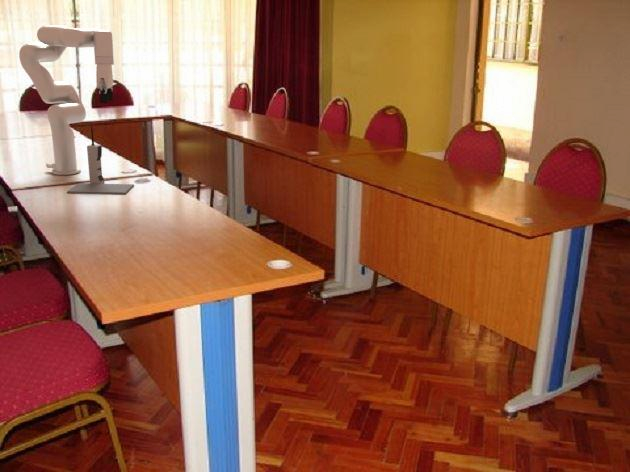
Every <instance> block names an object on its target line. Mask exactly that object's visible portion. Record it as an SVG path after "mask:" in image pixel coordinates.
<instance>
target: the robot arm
mask: <svg viewBox="0 0 630 472" xmlns="http://www.w3.org/2000/svg"><path fill="white" fill-rule="evenodd" d="M36 38H37V40H38V41H39V42H30V43H29V42H28V43H26V44H24V45H22V46H21V47H20V49H19V54H18V55H19V57H18V58H19V62H20V64H21V66H22V69H23V70H24V71H25V73H26V75H27V76H28V77H29V78H30V80H31V81H32V83H33V86H34V87H35V89H36V91H37V93H38V94H39V96H40V98H41V100H42V101H43V102H44V103H45V104H47V105H48V104H52V105H51V106H50V107H49V108H47V112H46V113H47V114H46V115H47V120H48V123H49V125H50V130H51V131H50V132H51V139H52V140H51V141H52V149H53V159H54V160H53V161H54V162H53V163H51V162H46V164H45V166H46V168H48V169H51V173H52V174H53V175H57V176H58V175H59V176H70V175H75V174H76V175H77V174H79V173H81V172H82V171H81V168H80V167H77V154H76V144H75V143H76V142H75V141H76V140H75V134H74V130H73V129H72V128H71V126H70V125H71V124H76V123H81V122H83V121H85V119H86V116H87V112H86V109H85V108H86V107H85V106H84V104H83V101H82V100H81V98H80V97H79V95H78V92H77V90H76V89H75V88H74V86H73V84H71V83H70V82H68V81H64V80H63V81H56V80H54V77H53V76H52V75H51V73H50V72H49V70H48V69H47V68H46V67H45V66H43V65H42V64H41V63H52V62H53V63H54V62H56V61H57V60H59V59H60V58H61V57H62V56H63V53H64V52H65V50H66V49H67V48H93V51H94V53H93V54H94V64H95V65H96V72H95V73H96V74H95V75H96V76H95V77H96V78H95V79H96V88H97V89H98V90H99V92H98V95H99V104H107V105H108V103H109V101H113V100H114V90H113V86H114V78H113V77H114V76H113V75H114V74H113V65H115V63H114V44H113V43H114V42H113V32H112V31H111V30H108V29H107V30H106V29H98V28H71V27H70V26H67V25H59V24H57V25H53V24H52V25H48V24H47V25H42V26H41V27H40V28H38V30H37V32H36Z"/></svg>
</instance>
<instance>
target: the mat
mask: <svg viewBox="0 0 630 472" xmlns="http://www.w3.org/2000/svg"><path fill="white" fill-rule="evenodd" d="M134 186H135V184H134V183H133V184H131V183H127V184H125V183H121V184H120V183H102V184H94V183H90V182H89V183H85V182H84V183H83V182H78V183H76V184H74V185H73V186H72V187H71V188H70V189H68V190H67V191H66V194H86V195H87V194H89V195H90V194H91V195H92V194H93V195H127V193H128V192H130V191H131V189H133V188H134Z"/></svg>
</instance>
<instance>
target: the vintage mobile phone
mask: <svg viewBox="0 0 630 472" xmlns="http://www.w3.org/2000/svg"><path fill="white" fill-rule="evenodd" d="M93 130H94V128H93V126H92V125H91V126H90V132H91V133H90V134H91V144H89V145H87V146H86V151H87V162H88V163H87V164H88V165H87V166H88V176H89V178H88V179H89V183H94V184H105V179H104V177H103V172H102V171H103V170H102V157H103V154H102V151H103V150H102V148H103V144H95V138H94V131H93Z"/></svg>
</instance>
